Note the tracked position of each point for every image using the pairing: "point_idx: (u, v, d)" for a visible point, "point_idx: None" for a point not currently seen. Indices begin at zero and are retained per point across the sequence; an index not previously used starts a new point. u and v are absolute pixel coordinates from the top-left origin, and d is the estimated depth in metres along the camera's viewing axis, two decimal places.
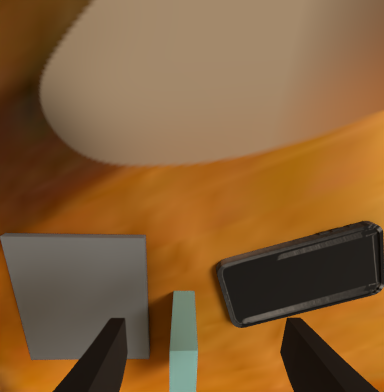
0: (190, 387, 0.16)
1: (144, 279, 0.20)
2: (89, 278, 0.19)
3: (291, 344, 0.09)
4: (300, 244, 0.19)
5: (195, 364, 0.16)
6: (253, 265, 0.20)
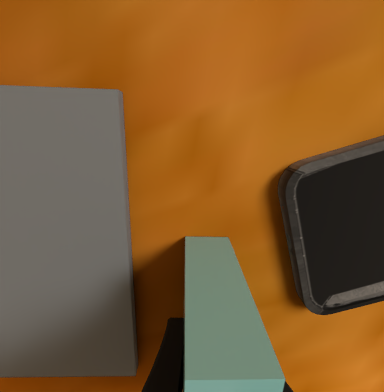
0: None
1: (121, 203, 0.09)
2: None
3: None
4: None
5: None
6: (366, 170, 0.09)
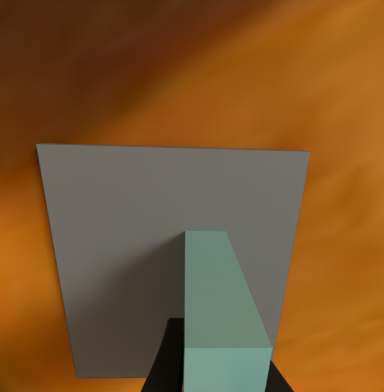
0: None
1: (291, 236, 0.11)
2: None
3: None
4: None
5: (260, 389, 0.05)
6: None
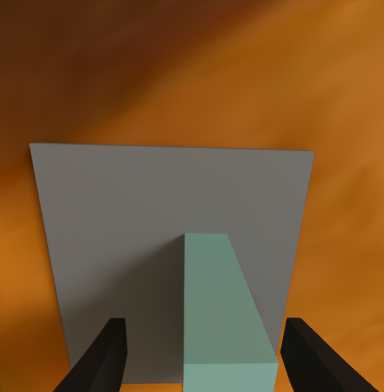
0: None
1: (294, 239, 0.11)
2: None
3: (291, 344, 0.09)
4: None
5: None
6: None
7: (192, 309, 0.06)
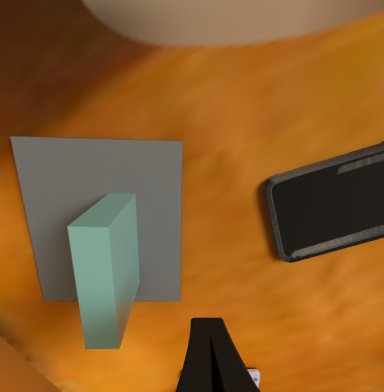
0: (106, 289, 0.12)
1: (179, 197, 0.17)
2: None
3: None
4: (365, 153, 0.16)
5: (108, 251, 0.11)
6: (308, 181, 0.17)
7: (85, 215, 0.12)
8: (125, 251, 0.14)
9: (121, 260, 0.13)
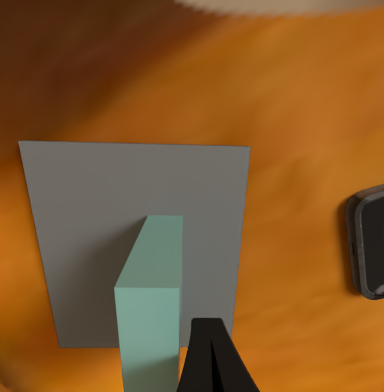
0: (166, 374, 0.08)
1: (240, 220, 0.13)
2: None
3: None
4: None
5: (175, 322, 0.07)
6: None
7: (132, 260, 0.08)
8: None
9: None
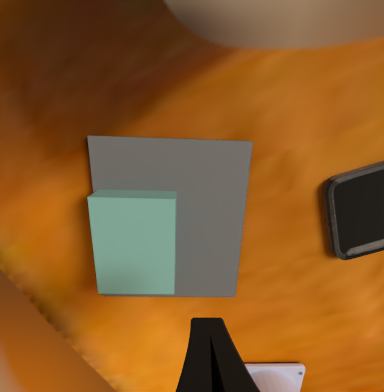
0: None
1: (244, 196, 0.17)
2: (182, 193, 0.17)
3: None
4: None
5: (90, 214, 0.15)
6: (369, 180, 0.17)
7: (116, 190, 0.16)
8: (126, 236, 0.16)
9: (114, 236, 0.16)
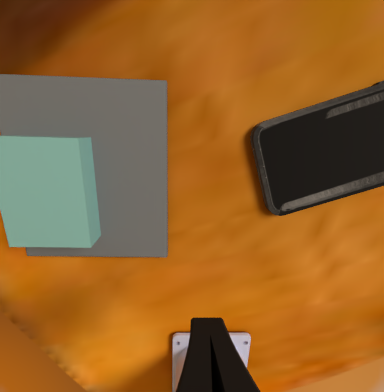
0: None
1: (164, 143, 0.16)
2: (98, 139, 0.16)
3: None
4: (355, 95, 0.16)
5: None
6: (296, 126, 0.16)
7: None
8: (31, 180, 0.15)
9: (17, 181, 0.15)
